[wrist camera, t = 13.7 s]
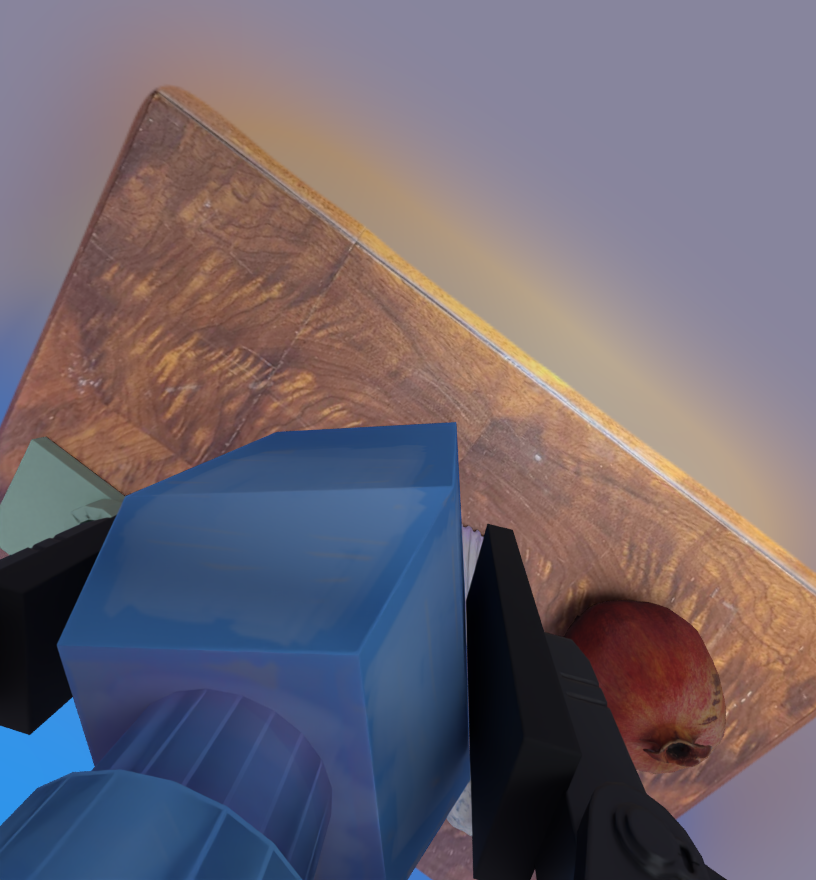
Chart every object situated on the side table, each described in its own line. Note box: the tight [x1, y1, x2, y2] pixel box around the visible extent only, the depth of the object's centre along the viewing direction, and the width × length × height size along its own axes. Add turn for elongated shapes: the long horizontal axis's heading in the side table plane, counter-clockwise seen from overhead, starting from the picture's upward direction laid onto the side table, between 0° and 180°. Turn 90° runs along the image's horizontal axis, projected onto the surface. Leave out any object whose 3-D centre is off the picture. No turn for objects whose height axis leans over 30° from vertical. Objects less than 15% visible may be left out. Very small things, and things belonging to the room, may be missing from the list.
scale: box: [0, 437, 125, 555], centre depth 34 cm, size 12×13×3 cm
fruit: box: [564, 600, 726, 774], centre depth 26 cm, size 11×10×10 cm
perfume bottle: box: [0, 422, 470, 880], centre depth 8 cm, size 6×6×12 cm
